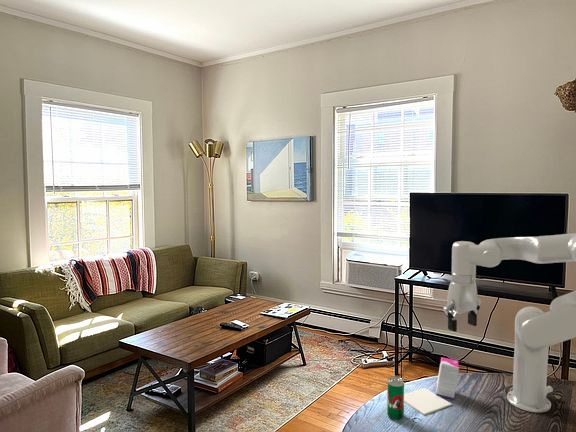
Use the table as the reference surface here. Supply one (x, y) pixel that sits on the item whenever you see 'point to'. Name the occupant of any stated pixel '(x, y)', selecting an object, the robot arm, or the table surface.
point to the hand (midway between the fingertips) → (462, 327)
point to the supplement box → (447, 378)
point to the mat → (425, 401)
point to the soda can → (395, 398)
